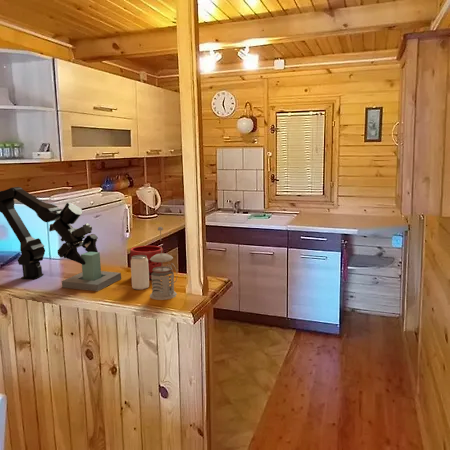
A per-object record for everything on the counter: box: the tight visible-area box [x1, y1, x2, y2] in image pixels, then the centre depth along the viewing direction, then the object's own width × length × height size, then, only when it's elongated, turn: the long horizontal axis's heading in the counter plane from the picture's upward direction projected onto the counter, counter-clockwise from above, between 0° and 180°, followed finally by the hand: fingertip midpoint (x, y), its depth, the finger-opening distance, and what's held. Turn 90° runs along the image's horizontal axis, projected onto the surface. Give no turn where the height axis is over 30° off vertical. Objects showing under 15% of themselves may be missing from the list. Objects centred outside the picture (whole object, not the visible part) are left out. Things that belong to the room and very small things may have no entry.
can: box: [130, 255, 150, 291], centre depth 167 cm, size 6×6×12 cm
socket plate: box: [61, 270, 122, 292], centre depth 174 cm, size 16×16×2 cm
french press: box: [149, 226, 178, 301], centre depth 156 cm, size 10×12×25 cm
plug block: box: [80, 251, 102, 281], centre depth 173 cm, size 5×5×12 cm
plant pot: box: [129, 245, 164, 280], centre depth 181 cm, size 13×13×12 cm
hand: (92, 261), depth 172 cm, fingers open, 9 cm apart
